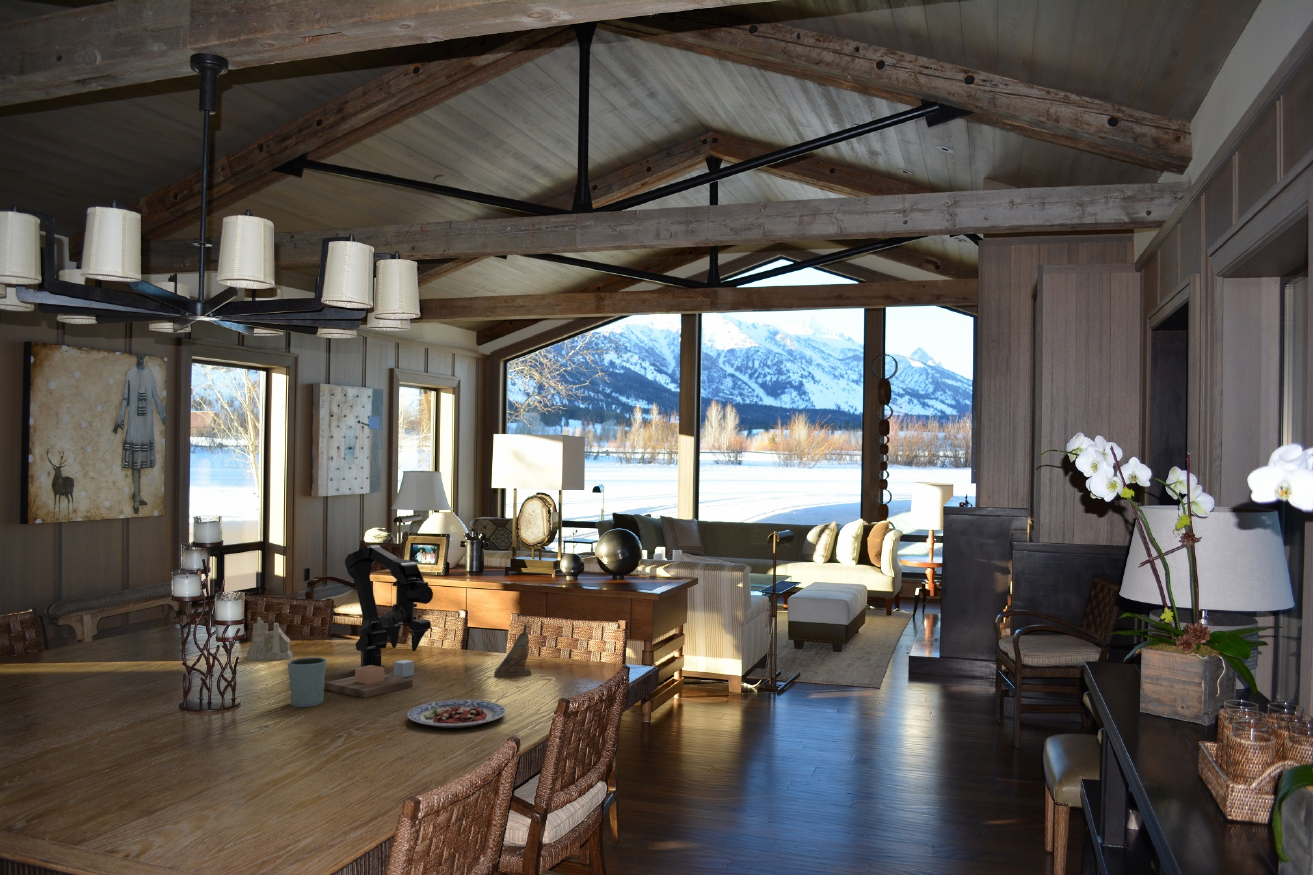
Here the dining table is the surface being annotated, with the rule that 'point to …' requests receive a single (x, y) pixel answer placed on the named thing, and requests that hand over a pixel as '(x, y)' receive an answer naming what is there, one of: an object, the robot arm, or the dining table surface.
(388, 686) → the walnut base
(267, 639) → the beige sandcastle sculpture
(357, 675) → the terracotta block
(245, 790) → the dining table surface
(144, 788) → the dining table surface
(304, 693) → the blue green cup
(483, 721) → the ceramic plate
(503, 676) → the worn brown figurine
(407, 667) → the grey blue cube
